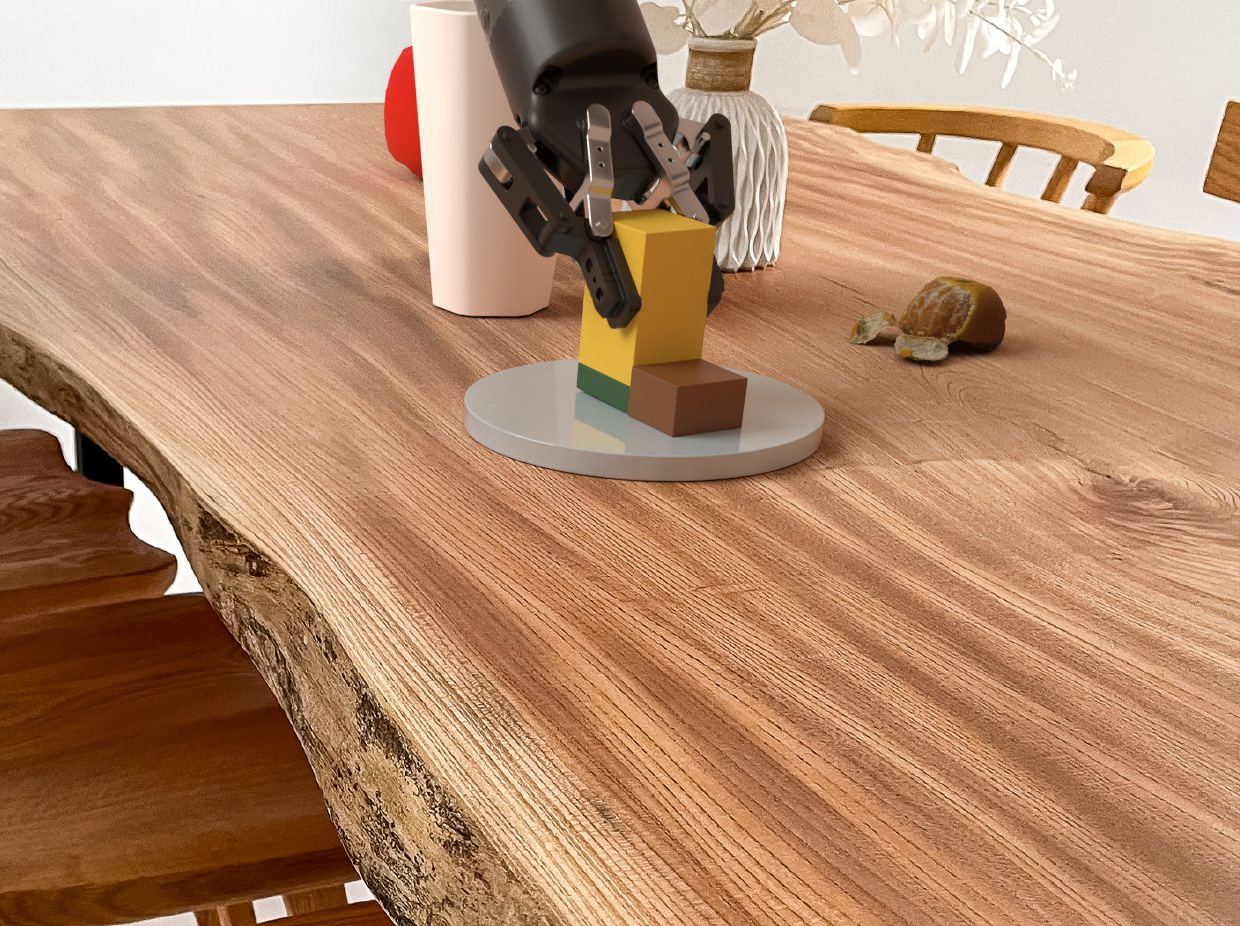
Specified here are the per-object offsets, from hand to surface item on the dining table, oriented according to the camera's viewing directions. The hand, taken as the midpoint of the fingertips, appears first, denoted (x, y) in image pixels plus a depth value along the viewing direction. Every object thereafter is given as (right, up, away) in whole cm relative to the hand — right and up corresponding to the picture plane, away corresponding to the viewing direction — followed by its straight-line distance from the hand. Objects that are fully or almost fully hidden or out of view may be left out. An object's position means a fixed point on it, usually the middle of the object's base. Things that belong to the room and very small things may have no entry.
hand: (667, 313), depth 86 cm
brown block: (+1, -5, 0) cm, 5 cm away
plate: (-1, -4, +4) cm, 6 cm away
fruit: (+18, +4, +19) cm, 27 cm away
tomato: (-5, +35, +69) cm, 77 cm away
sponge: (-1, -3, +4) cm, 5 cm away
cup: (-6, +9, +27) cm, 29 cm away
